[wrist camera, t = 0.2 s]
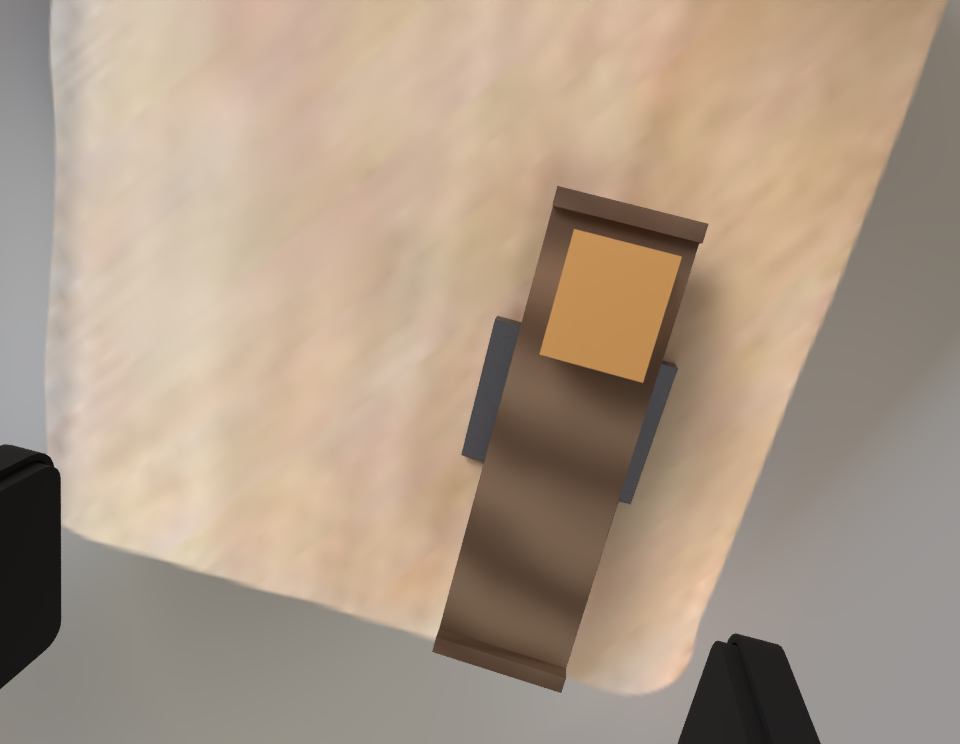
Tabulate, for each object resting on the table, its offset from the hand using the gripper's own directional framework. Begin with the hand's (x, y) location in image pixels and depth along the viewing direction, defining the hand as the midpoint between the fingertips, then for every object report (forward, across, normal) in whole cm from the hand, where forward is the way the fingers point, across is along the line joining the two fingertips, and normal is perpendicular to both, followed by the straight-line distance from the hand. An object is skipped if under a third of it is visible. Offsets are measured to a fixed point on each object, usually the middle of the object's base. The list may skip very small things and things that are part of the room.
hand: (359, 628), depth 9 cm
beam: (+30, -3, +9) cm, 32 cm away
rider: (+30, -4, 0) cm, 30 cm away
